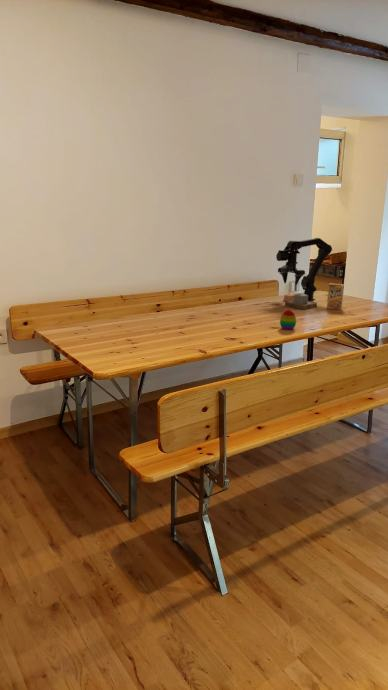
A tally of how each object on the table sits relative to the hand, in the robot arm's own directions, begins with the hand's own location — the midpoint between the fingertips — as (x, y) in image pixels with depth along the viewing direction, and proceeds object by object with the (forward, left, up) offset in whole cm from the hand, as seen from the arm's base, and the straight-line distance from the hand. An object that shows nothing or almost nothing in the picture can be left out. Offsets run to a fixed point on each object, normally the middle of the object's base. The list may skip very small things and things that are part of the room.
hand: (290, 284), depth 336 cm
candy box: (-4, +33, -11) cm, 35 cm away
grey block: (+9, +17, -9) cm, 21 cm away
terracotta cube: (0, 0, -11) cm, 11 cm away
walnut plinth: (+9, +17, -11) cm, 22 cm away
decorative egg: (+60, +50, -11) cm, 79 cm away
